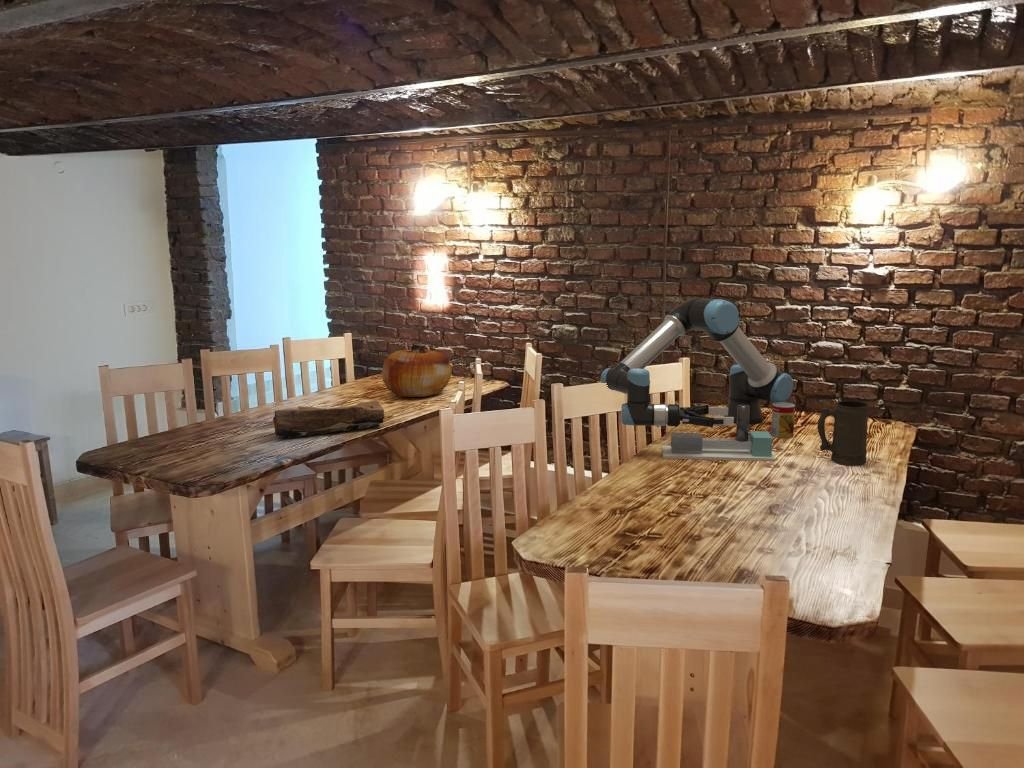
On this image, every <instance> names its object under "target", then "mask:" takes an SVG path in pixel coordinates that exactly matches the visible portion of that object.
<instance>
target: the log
mask: <svg viewBox="0 0 1024 768" xmlns="http://www.w3.org/2000/svg"><path fill="white" fill-rule="evenodd" d="M297 408H298V409H297ZM297 408H296V409H283V410H282V409H281V410H280V409H279V410H274V416H273V418H272V422H273V426H274V433H275V436H279V437H281V436H282V437H285V438H287V439H289V438H290V439H292V438H296V437H302V436H303V437H308V436H310V437H311V436H317V435H324V434H325V435H326V434H335V433H344V432H354V431H363V430H367V429H369V428H370V427H374V426H377V425H380V424H384V420H385V409H384V407H383V406H381V404H380V403H379V401H378V400H377V399H375V400H374V399H373V400H369V401H362V402H358V403H357V404H353V405H347V406H338V407H330V408H323V407H314V406H300V405H298V406H297Z"/></svg>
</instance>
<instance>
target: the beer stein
mask: <svg viewBox="0 0 1024 768" xmlns="http://www.w3.org/2000/svg"><path fill="white" fill-rule="evenodd" d="M869 412H870V406H869V404H868V403H866V402H863V401H858V400H842V401H837V403H836V405H835V408H834V409H830V408H828V407H822V408H821V413H820V416H819V418H818V420H817V433H818V435H819V439H820V440H821V444H820V446H819V449H820V451H821V452H823V451H829V452H830V453H831V456H830V460H831V461H832V462H833V463H836V464H837V465H841V466H842V465H843V466H847V467H858V466H859V467H860V466H864V465H866V463H867V454H868V453H867V452H868V451H867V444H868V443H867V440H868V417H869V416H868V415H869ZM828 417H833V418H834V422H833V433H832V443H829V442H828V439H827V435H826V431H825V423H826V419H827V418H828Z"/></svg>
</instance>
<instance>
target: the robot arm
mask: <svg viewBox="0 0 1024 768" xmlns="http://www.w3.org/2000/svg"><path fill="white" fill-rule="evenodd" d="M739 315H740V313H739V310H738V308H737V306H736V305H735V304H734V303H733V302H730V301H729V300H728V301H727V300H725V299H719V298H718V299H717V298H705V297H704V298H703V297H692V298H690V299H687V300H684V301H683V302H682V303H680V304H678V305H677V306H676V307H675V308H673V309H672V310H671V311H669V313H667V314H666V315H665V316H664V321H662V322H661V324H659V325H658V326H657V327H656V328H655V329H654V330H653V331H652V332H651V333H650V334H649V335H647V337H646V338H645V339H644V340H643V341H642V342H640V343H639V344H638V345H637V346H636V347H635V348H634V349H633V350H632V351H631V352H630V353H629V354H628V355H627V356H625V357H624V358H623V359H622V361H620V362H619V363H617V365H616V366H615V367H607V368H605V369H604V370H603V371H602V372H601V375H600V382H601V384H602V383H607V384H606V385H608V386H607V387H608V388H609V390H610V389H611V391H615V392H620V393H621V394H626V395H627V396H626V398H627V399H626V403H622V404H621V415H620V416H621V424H623V425H624V426H625V425H626V426H634V427H637V426H640V427H641V426H643V427H645V426H649V427H650V426H654V427H656V428H659V427H660V426H661V427H665V426H666V425H667V426H668V427H678V426H679V423H680V422H681V423H682V425H692V426H693V425H694V426H700V427H701V426H702V427H709V428H711V429H713V428H714V426H731V427H732V426H734V425H737V405H741V404H744V405H749V406H750V414H749V426H750V425H758V424H759V425H760V424H761V423H763V421H764V415H763V413H762V409H761V404H760V400H763V401H766V402H771V403H772V404H773V403H777V402H786V401H787V400H789V398H790V397H791V395H792V393H793V389H794V380H793V378H792V376H791V374H788V373H786V372H782V371H780V370H779V369H778V367H777V366H776V365H775V364H774V363H772V362H769V361H767V360H766V358H765V357H763V356H762V354H761V353H760V352H759V351H758V349H757V348H756V346H754V344H753V342H751V341H750V339H749V338H748V336H746V334H745V333H744V332H743V331H742V329H741V328H740V317H739ZM692 330H695V331H697V330H698V331H703V332H705V333H706V335H707V336H708V337H709V338H710V339H711V340H712V342H715V343H720V344H721V346H722V347H723V348H724V349H725V350H726V351H727V353H728V354H729V356H731V358H732V359H733V360H734V361H735V362H736V363H737V364H733V365H732V366H731V367H730V369H729V371H730V372H729V377H728V378H729V381H728V384H729V386H728V402H727V405H726V407H725V406H724V407H723V406H722V407H719V406H717V407H715V406H709V404H704V405H696V406H687V407H686V406H685V407H682V406H681V407H680V406H679V404H676V403H674V404H671V403H669V404H666V403H650V393H651V392H650V388H651V387H650V386H651V380H650V377H651V375H650V372H649V370H648V369H645V368H646V367H648V366H649V364H651V363H652V361H654V360H655V359H656V358H657V357H658V356H659V355H660V354H661V353H663V351H665V349H667V348H668V347H669V346H670V345H671V344H672V343H673V342H674V341H675V340H676V339H677V338H679V336H680V337H683V336H684V335H686V334H687V333H688V332H689V331H692ZM608 388H607V389H608ZM706 415H708V416H706ZM710 416H711V417H710Z"/></svg>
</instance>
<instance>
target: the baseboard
mask: <svg viewBox="0 0 1024 768" xmlns="http://www.w3.org/2000/svg"><path fill="white" fill-rule="evenodd" d="M661 450H662V451H661V453H662V458H663V459H672V460H702V461H703V460H704V461H708V460H709V461H711V460H712V461H742V462H745V461H746V462H774V463H775V462H776V461H777V460H776V457H775V455H774V454H773V453H772V454H771V457H761V456H752V454H751V452H750V450H727V449H702V454H684V453H672V451H671V445H661Z"/></svg>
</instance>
